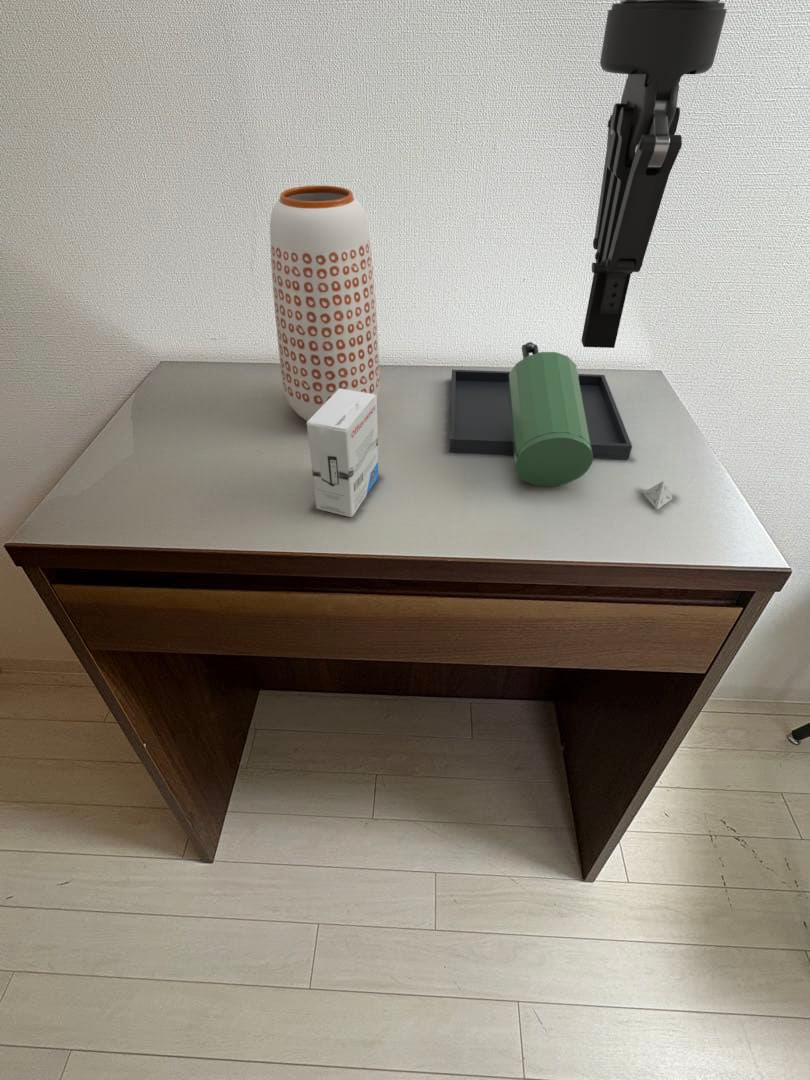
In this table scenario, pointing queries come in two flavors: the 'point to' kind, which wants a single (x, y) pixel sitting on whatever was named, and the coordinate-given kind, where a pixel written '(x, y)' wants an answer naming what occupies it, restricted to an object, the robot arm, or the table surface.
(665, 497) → the tetrahedral die
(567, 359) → the cup
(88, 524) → the table surface
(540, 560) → the table surface
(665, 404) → the table surface
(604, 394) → the tray
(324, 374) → the vase
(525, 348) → the tongs
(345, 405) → the ink box
